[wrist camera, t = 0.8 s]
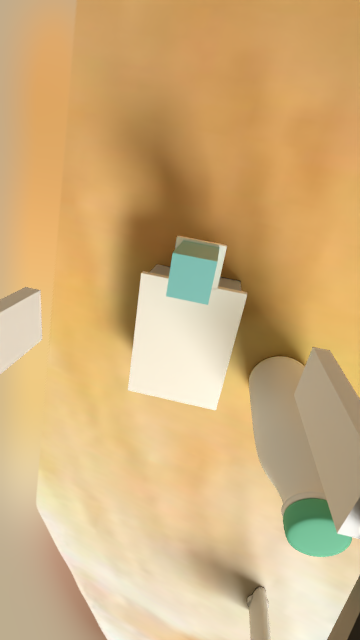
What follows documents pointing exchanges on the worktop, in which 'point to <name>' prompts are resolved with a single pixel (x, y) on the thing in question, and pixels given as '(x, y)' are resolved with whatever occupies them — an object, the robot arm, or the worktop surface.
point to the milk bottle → (291, 458)
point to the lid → (185, 327)
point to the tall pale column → (259, 615)
